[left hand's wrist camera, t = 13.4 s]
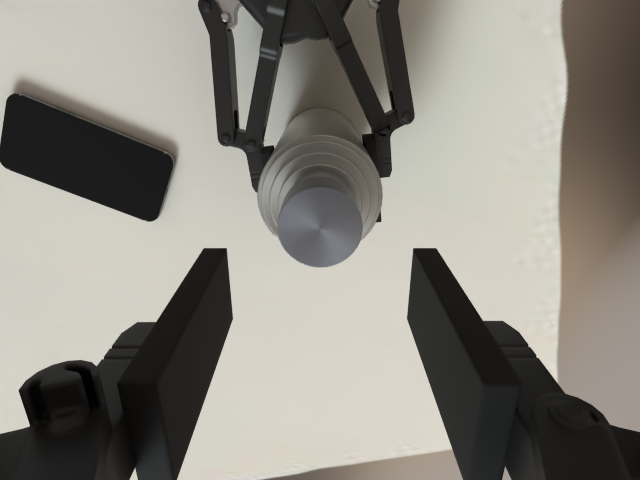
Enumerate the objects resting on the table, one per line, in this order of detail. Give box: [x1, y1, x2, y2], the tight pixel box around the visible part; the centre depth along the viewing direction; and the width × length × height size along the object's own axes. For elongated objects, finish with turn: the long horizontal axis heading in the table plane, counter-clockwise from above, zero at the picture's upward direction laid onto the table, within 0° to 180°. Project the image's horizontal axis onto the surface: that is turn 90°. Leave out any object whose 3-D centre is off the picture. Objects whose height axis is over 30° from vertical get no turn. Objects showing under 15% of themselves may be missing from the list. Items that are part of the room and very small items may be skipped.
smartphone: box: [0, 93, 175, 221], centre depth 40 cm, size 7×1×15 cm
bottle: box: [257, 108, 383, 241], centre depth 30 cm, size 7×7×21 cm
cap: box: [277, 176, 363, 267], centre depth 21 cm, size 4×4×2 cm
